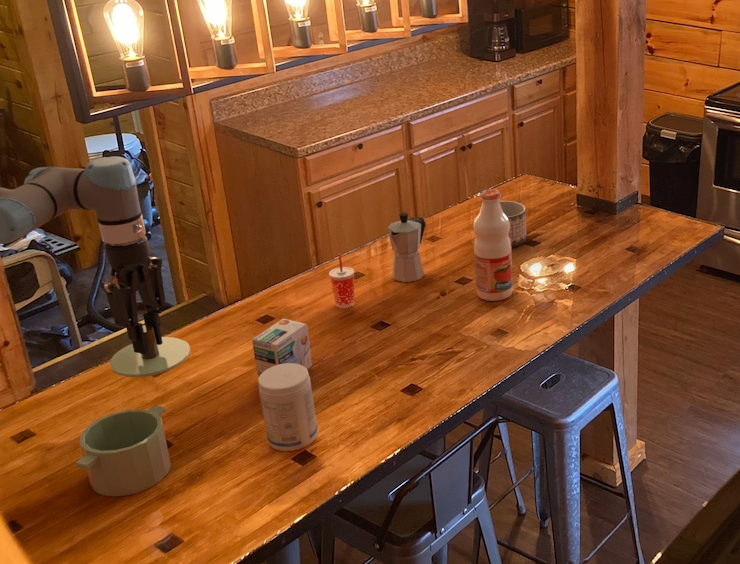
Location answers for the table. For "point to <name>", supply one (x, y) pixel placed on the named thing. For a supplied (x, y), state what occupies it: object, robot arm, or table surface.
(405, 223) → the coffee maker
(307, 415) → the supplement tub
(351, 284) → the beverage cup
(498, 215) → the fruit juice
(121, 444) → the pale green cooking pot
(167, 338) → the green pot lid
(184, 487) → the table surface
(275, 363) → the light bulb box
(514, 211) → the planter
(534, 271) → the table surface
